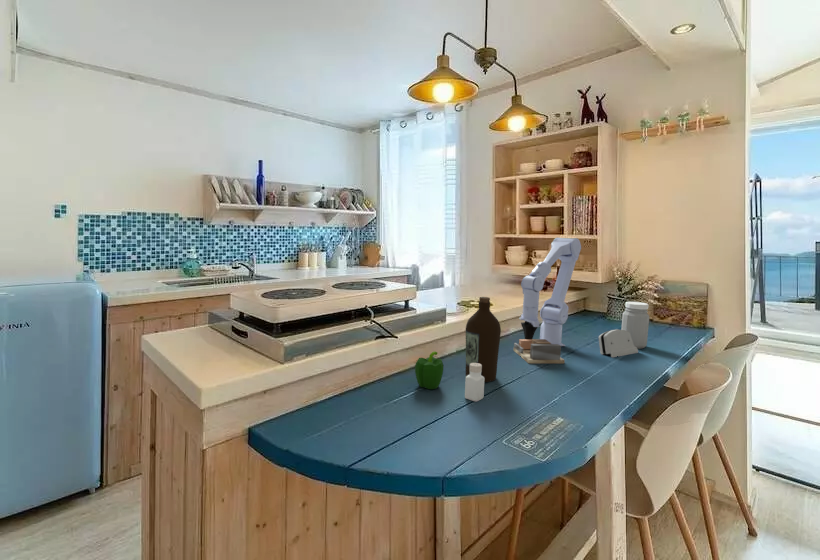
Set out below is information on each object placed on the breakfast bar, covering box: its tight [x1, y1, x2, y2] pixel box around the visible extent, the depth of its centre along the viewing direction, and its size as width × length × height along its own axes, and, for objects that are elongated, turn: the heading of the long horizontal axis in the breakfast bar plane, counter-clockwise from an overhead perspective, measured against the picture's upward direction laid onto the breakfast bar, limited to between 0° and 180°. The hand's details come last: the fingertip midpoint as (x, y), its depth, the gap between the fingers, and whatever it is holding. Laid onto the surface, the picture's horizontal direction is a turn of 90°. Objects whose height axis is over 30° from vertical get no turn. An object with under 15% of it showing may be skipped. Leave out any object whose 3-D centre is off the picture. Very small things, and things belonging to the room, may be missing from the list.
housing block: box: [532, 338, 551, 344], centre depth 152 cm, size 5×5×5 cm
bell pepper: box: [414, 351, 444, 390], centre depth 121 cm, size 8×8×10 cm
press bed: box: [512, 342, 566, 364], centre depth 155 cm, size 16×13×6 cm
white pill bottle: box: [464, 363, 485, 402], centre depth 113 cm, size 4×4×10 cm
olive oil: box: [465, 296, 502, 383], centre depth 130 cm, size 11×11×25 cm
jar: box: [620, 301, 650, 350], centre depth 174 cm, size 10×10×18 cm
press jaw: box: [518, 338, 532, 349], centre depth 160 cm, size 2×10×3 cm, turn 95°
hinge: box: [598, 329, 639, 358], centre depth 164 cm, size 17×5×10 cm, turn 120°
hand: (528, 341), depth 165 cm, fingers closed
